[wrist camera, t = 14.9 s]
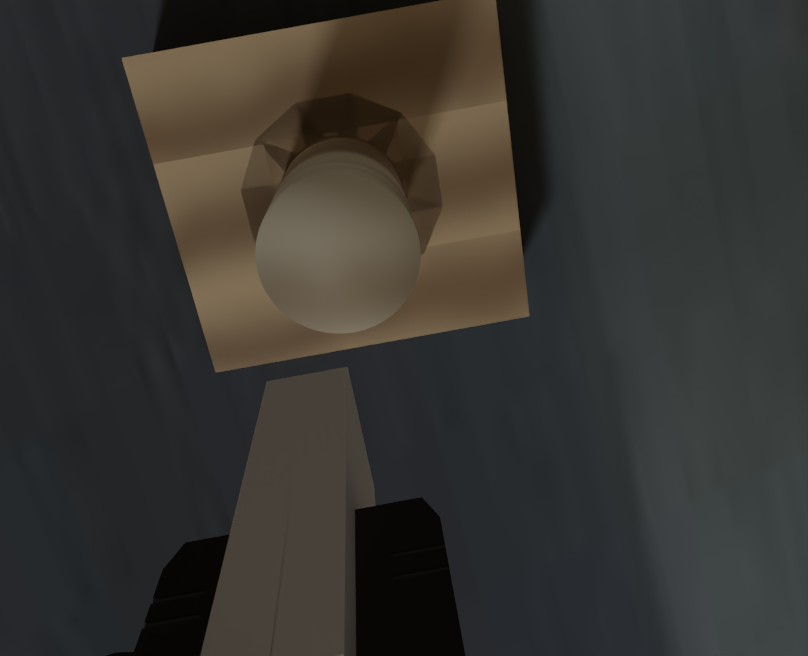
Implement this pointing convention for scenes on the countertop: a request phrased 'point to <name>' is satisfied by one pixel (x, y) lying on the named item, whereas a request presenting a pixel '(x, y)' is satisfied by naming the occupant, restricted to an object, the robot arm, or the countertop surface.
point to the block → (339, 116)
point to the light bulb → (339, 238)
